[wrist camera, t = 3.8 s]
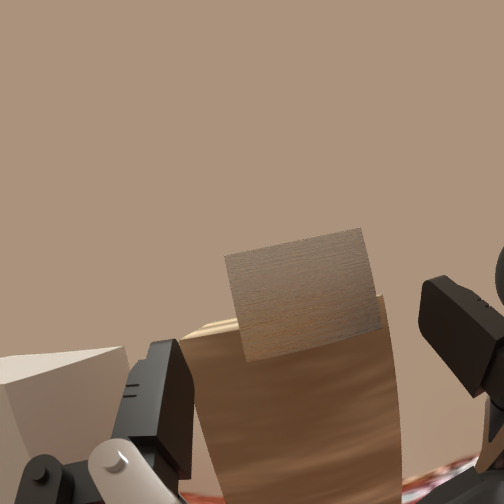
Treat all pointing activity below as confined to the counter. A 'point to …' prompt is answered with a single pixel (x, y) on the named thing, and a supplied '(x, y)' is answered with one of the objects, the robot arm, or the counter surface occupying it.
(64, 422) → the block
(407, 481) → the counter surface
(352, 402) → the walnut stand
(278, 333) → the wooden block
